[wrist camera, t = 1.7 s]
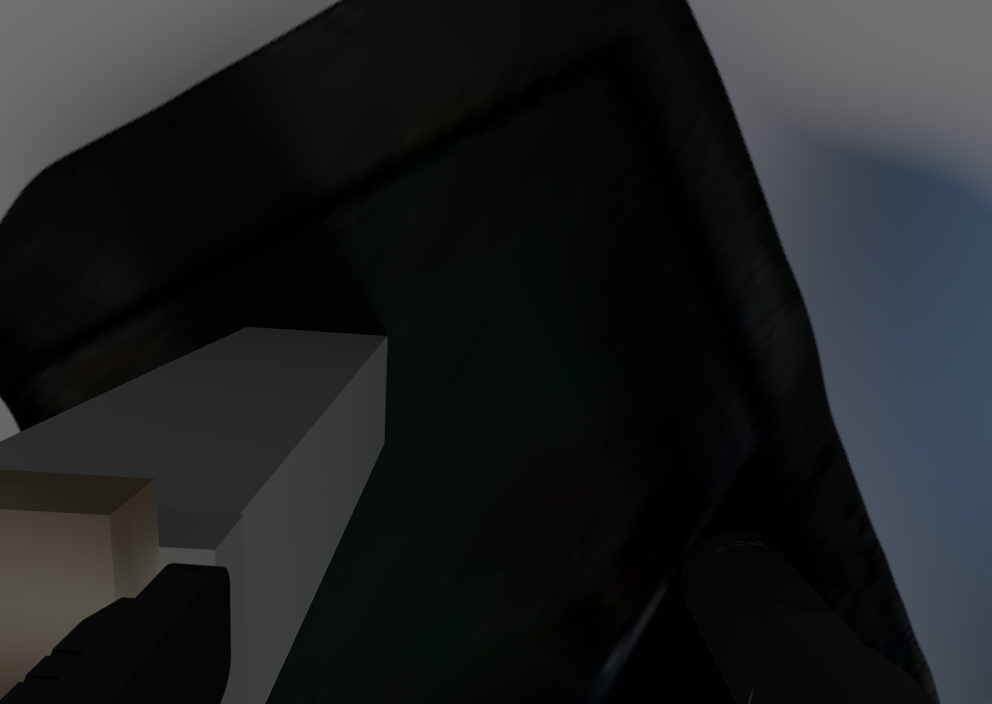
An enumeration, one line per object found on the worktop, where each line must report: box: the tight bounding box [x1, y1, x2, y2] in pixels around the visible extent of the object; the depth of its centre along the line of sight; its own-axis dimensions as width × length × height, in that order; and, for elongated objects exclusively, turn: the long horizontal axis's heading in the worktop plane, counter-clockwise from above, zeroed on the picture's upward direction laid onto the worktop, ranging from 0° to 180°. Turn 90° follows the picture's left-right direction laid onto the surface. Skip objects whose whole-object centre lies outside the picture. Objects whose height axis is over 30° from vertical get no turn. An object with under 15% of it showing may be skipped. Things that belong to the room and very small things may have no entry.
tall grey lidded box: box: [0, 327, 387, 704], centre depth 33 cm, size 10×12×32 cm
